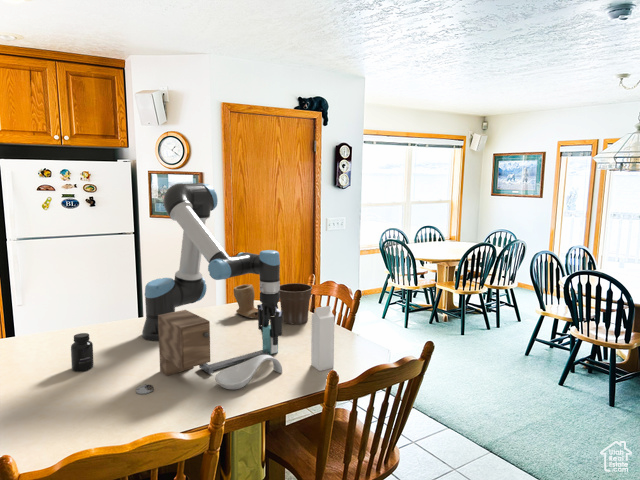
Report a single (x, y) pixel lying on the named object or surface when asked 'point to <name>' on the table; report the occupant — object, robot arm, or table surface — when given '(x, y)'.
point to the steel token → (144, 389)
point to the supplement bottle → (82, 353)
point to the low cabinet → (183, 341)
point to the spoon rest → (243, 372)
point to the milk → (322, 339)
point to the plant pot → (295, 302)
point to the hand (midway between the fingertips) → (270, 350)
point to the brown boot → (245, 301)
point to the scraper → (265, 351)
